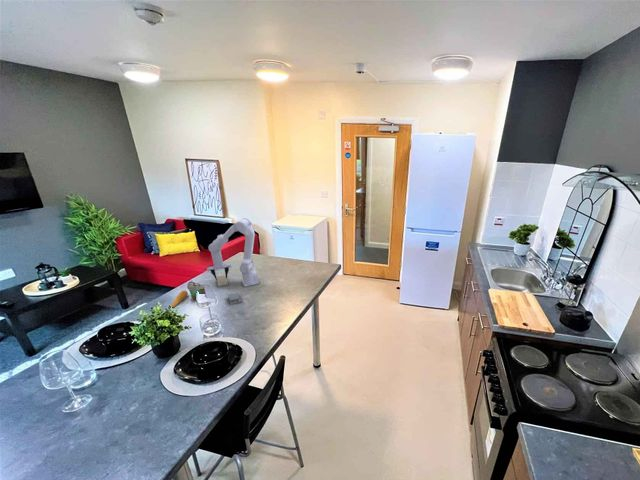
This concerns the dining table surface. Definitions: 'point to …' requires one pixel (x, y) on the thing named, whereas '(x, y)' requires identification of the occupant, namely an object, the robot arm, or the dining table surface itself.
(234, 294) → the grey stack
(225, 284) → the cream stack
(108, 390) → the dining table surface
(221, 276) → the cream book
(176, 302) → the carrot
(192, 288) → the food container
